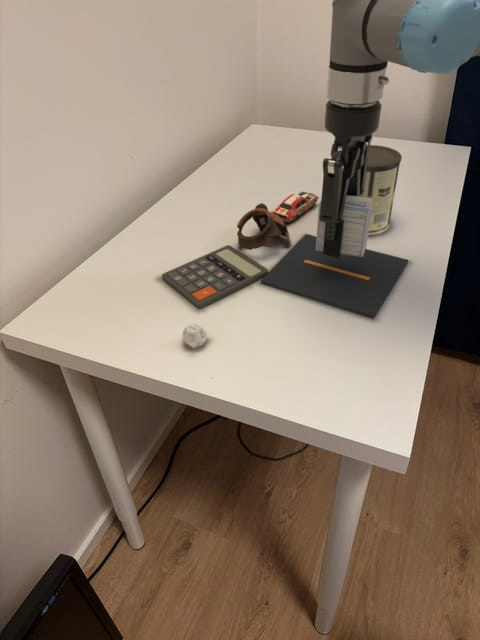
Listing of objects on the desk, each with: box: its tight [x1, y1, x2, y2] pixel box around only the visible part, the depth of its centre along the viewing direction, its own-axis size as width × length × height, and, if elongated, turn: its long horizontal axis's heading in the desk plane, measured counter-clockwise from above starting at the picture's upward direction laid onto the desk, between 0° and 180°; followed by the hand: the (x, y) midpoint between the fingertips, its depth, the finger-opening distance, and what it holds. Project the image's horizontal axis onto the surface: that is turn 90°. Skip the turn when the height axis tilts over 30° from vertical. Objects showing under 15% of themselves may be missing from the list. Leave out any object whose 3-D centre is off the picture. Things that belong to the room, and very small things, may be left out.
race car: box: [271, 191, 319, 224], centre depth 101 cm, size 5×12×5 cm, turn 137°
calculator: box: [161, 244, 269, 309], centre depth 85 cm, size 12×1×15 cm
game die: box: [181, 322, 208, 349], centre depth 71 cm, size 4×4×3 cm
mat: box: [260, 233, 409, 320], centre depth 84 cm, size 20×18×1 cm
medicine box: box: [316, 195, 373, 257], centre depth 79 cm, size 8×4×9 cm, turn 70°
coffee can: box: [360, 144, 403, 237], centre depth 93 cm, size 10×10×14 cm
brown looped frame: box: [236, 203, 292, 251], centre depth 92 cm, size 12×10×8 cm
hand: (338, 246), depth 81 cm, fingers closed on medicine box, 5 cm apart
